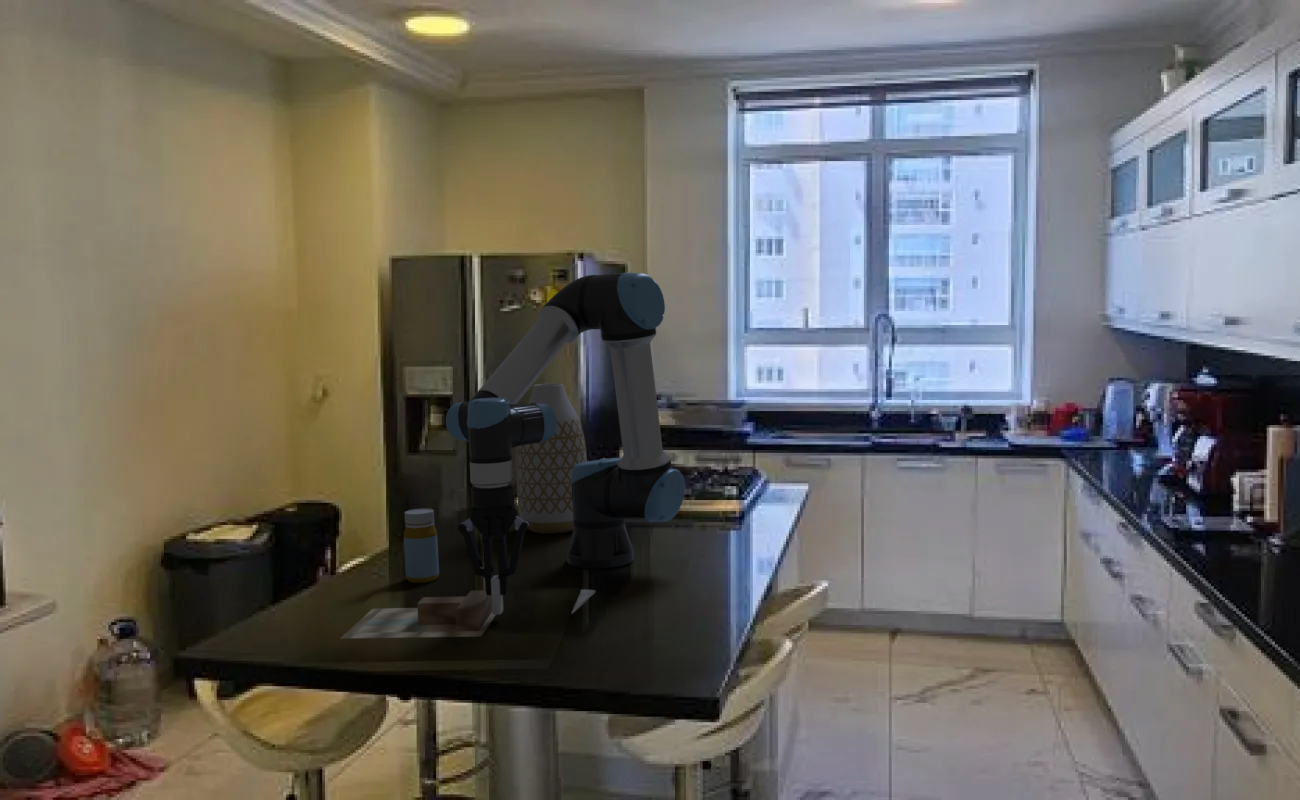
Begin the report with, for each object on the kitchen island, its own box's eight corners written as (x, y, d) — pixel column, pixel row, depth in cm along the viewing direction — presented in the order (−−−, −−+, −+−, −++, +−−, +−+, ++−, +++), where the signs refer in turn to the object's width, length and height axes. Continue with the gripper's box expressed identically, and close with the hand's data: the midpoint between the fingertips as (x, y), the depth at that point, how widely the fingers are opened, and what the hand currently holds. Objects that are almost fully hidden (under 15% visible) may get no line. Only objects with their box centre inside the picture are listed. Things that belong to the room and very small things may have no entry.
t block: (493, 611, 196) (491, 590, 196) (479, 630, 184) (478, 608, 184) (430, 612, 197) (428, 591, 197) (412, 632, 185) (410, 609, 185)
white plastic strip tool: (546, 614, 198) (546, 609, 198) (572, 593, 213) (572, 588, 213) (572, 615, 197) (572, 609, 197) (596, 594, 211) (596, 589, 211)
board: (501, 612, 199) (501, 606, 199) (481, 642, 181) (481, 636, 181) (372, 614, 201) (372, 608, 201) (340, 645, 183) (339, 638, 183)
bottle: (431, 584, 222) (427, 514, 221) (400, 583, 223) (397, 514, 222) (444, 575, 229) (440, 508, 227) (414, 575, 230) (410, 508, 229)
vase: (529, 521, 284) (522, 382, 281) (596, 521, 281) (590, 381, 278) (510, 537, 266) (503, 388, 262) (582, 537, 263) (576, 386, 260)
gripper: (531, 479, 191) (536, 605, 193) (460, 481, 192) (467, 607, 194) (524, 486, 184) (530, 617, 186) (451, 488, 185) (457, 619, 187)
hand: (497, 612), depth 190 cm, fingers closed
